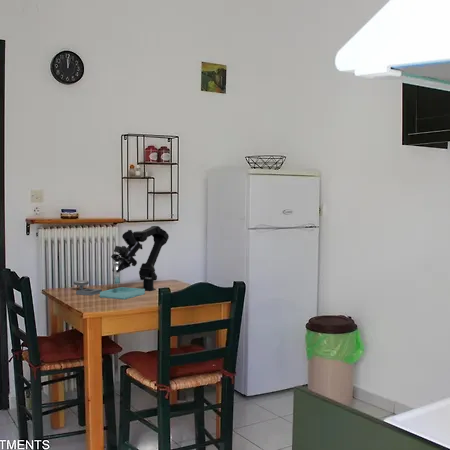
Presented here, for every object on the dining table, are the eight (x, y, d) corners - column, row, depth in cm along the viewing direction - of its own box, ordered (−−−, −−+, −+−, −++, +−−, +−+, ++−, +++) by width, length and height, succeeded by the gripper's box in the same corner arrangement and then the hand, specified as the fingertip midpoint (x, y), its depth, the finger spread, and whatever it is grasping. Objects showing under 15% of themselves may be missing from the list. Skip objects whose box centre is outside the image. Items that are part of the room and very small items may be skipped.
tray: (120, 292, 327) (120, 287, 327) (144, 294, 321) (144, 288, 321) (99, 297, 309) (99, 291, 309) (124, 299, 303) (124, 293, 303)
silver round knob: (79, 288, 342) (79, 279, 341) (91, 289, 338) (91, 280, 338) (70, 290, 334) (70, 281, 334) (82, 291, 330) (82, 282, 330)
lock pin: (114, 282, 317) (114, 261, 317) (122, 282, 317) (121, 261, 316) (111, 283, 313) (111, 261, 312) (119, 283, 312) (119, 262, 312)
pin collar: (87, 291, 328) (87, 288, 328) (101, 293, 324) (101, 289, 324) (76, 294, 319) (76, 290, 319) (90, 295, 315) (90, 291, 315)
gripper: (113, 239, 323) (96, 260, 317) (131, 241, 309) (114, 263, 303) (125, 252, 329) (109, 273, 322) (144, 254, 315) (127, 276, 308)
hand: (114, 271), depth 314 cm, fingers closed on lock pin, 4 cm apart
